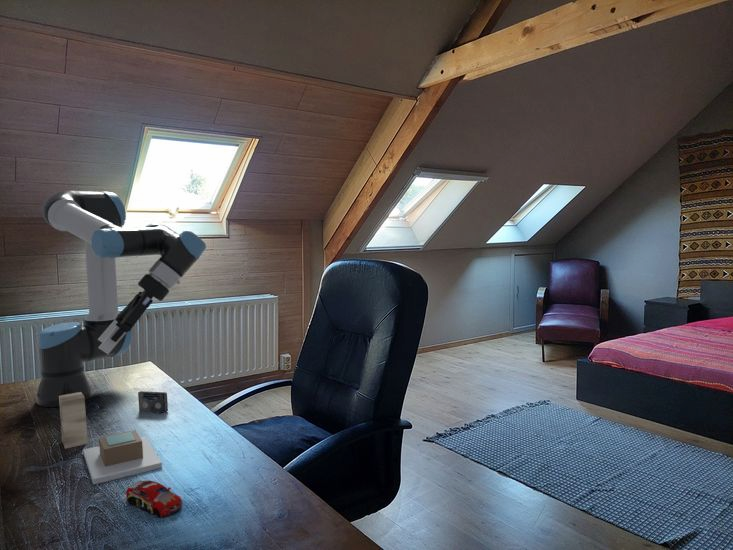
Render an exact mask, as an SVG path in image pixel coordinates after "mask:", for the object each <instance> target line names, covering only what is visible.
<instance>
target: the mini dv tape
mask: <svg viewBox="0 0 733 550" xmlns="http://www.w3.org/2000/svg"><path fill="white" fill-rule="evenodd" d="M137 397H138V412H139V413H144V412H154V413H153V414H162V413H165V414H167V413H168V412H169V406H168V404H169V403H168V393H167V392H165V391H164V392H163V391H142V390H141V391H138V394H137ZM167 411H168V412H167ZM157 412H158V413H157ZM166 412H167V413H166Z"/></svg>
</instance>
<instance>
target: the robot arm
mask: <svg viewBox="0 0 733 550" xmlns="http://www.w3.org/2000/svg"><path fill="white" fill-rule="evenodd" d="M126 214H127V213H126V208H125V205H124V203H123V201H122V199H121V198H120V196H119V195H118V194H117V193H114V192H111V191H104V190H103V191H102V190H72V189H71V190H68V189H67V190H61V191H60V190H59V191H57V192H55V193H53V194H51V195H50V196H49V197H47V199H46V200H45V201H44V203H43V205H42V217H43V219H44V220H45V222H46V223H47V224H48V225H49V226H51V227H52V228H53V229H55V230H57V231H60V232H69V233H70V234H72V235H74V236H75V237H77V238H80V239H81V240H82V241H84V248H85V266H86V267H85V268H86V269H85V270H86V282H87V284H86V285H87V298H88V299H87V301H88V314H87V315H85V317H84V320H83V321H84V325H83V324H81V323H80V322H78V321H69V322H61V323H58V324H57V323H56V324H54V325H49V326H47V327H45V328H44V329H41V331H40V332H39V334H38V345H37V347H38V350H39V363H40V364H39V365H40V375H41V377H40V383H39V384H38V385H39V386H38V389H37V394H36V395H35V397H36V404H37V405H38V406H39V407H44V408H45V407H46V408H55V407H60V404H59V396H61V395H67V394H72V393H78V392H81V393H82V394H83V395H84V397H85V401H87V400H89V399H90V398H92V394H93V391H92V387H91V385H90V383H89V381H88V377H87V375H86V374H85V369H84V368H85V367H84V364H85V363H87V362H91V361H95V360H101V359H105V358H113V357H116V356H119V355H123V354H125V353H126V352H127V351H128V349H129V348H130V347H131V344H132V339H133V327H134V326H135V325H136V324H137V323H138V321H139V320H140V318H141V317H142V316H143V314H144V313H145V312H146V310H147V309H148V308H149V307H150V306H151V305H152V303H153V301H154V300H153V298H155V299H156V300H157V301H160V302H161V301H163V300H164V299H165V298H166V297H167V296H168V294H169V293H170V290H169V289H173V288H174V287H175V286H176V284H177V285H180V284H181V281H180V280H181V278H183V277H184V276H185V274H186V273H187V272H188V271H189V270H190V268H191V267H192V266H193V265H194V264H195V263H196V262H197V260H199V259H200V257H201V255H202V254H203V253H204V251H206V249H207V245H206V242H205V241H203V239H201V237H199V236H198V235H197V234H195V233H194V232H192V231H191V230H188V229H185V230H183V231H182V232H181V233H178V232H176V231H175V230H173V229H171V228H170V227H168V226H166V225H165V224H161V223H159V222H152V223H150V224H147V225H145V227H124V225H125V224H126V222H125V221H126V219H127V215H126ZM157 255H158V256H160V258H158V259H157V260H156V261H155V262H154V264H153V265H152V266H151V267H150V268H149V270H148V273H146V274H144V275H143V276H142V278H141V279H140V280H139V281H138V283H137V285H138V286H139V287H141V288H142V290H143V291H141V290H140V291H139V292H138V293H136V294H135V295H134V296H133V299H131V301H130V302H129V303H128V304H127V305H126V306H125V307H124V308H123V309H122V310H121V311H119V301H118V300H119V299H118V284H117V282H118V281H117V269H116V268H117V266H116V259H117V258H128V257H143V256H157Z"/></svg>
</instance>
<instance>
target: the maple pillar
mask: <svg viewBox="0 0 733 550" xmlns="http://www.w3.org/2000/svg"><path fill="white" fill-rule="evenodd" d="M59 404H60V406H59V414H60V415H59V417H60V428H61V443H62V444H63V447H64V449H69V448H73V447H78V446H82V445H87V444H88V441H89V440H88V428H87V416H86V412H87V411H86V400H85V397H84V395H83V394H82V393H81V392H78V393H72V394H67V395H61V396H59Z"/></svg>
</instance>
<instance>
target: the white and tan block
mask: <svg viewBox="0 0 733 550" xmlns="http://www.w3.org/2000/svg"><path fill="white" fill-rule="evenodd" d="M98 442H99V446H98V445H97V446H93V447H88V448H84V449H83V450H82V453H83V457H84V460H85V463H86V466H87V470H88V473H89V476H90V479H91V482H92V485H97V484H102V483H105V482H109V481H113V480H117V479H118V480H119V479H121V478H126V477H130V476H134V475H137V474H138V475H139V474H142V473H146V472H150V471H153V470H158V469H161V468H163V462H162V460H161V459H160V457H159V455H158V454H157V453H156V451H155V449H154V448H153V446H152V445H151V443H150V442H149V440H148V438H147V437H146V435H145V436H140V435H139V433H138V432H137V430H136V429H134V430H133V429H132V430H129V431H123V432H119V433H115V434H109V435H104V436H100V437H98Z"/></svg>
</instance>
